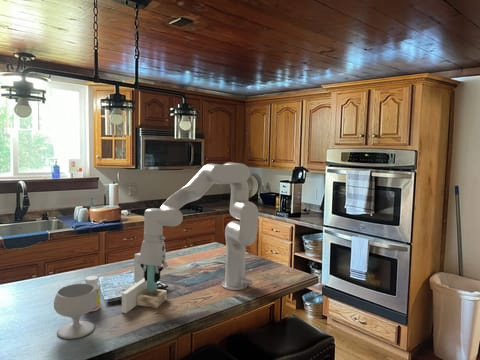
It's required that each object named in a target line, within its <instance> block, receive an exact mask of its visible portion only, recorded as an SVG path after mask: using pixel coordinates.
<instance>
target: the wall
mask: <svg viewBox="0 0 480 360" xmlns="http://www.w3.org/2000/svg"><path fill="white" fill-rule="evenodd" d="M145 289H147V281H145V278H143V279H142V280H140V281H139V282H137V283H136V284H133V285H132V286H130V287H129V288H127V289H125V290H124V291H123V292H121V313H123V314H127V313H128V312H130V311H131V310H133V308H135V307H136V306H138V305H137V295H139V294H140V293H141V292H143V291H144V290H145Z"/></svg>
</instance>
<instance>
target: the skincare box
mask: <svg viewBox="0 0 480 360" xmlns="http://www.w3.org/2000/svg"><path fill="white" fill-rule="evenodd" d="M139 258H140V252H138V253H134V269H133V270H134V272H133V274H134V275H133V276H134V277H133V281H134V282H139V281H140V280H142V279H143V278H144V271H143V269H142V267H141V266H140V265H139V264H138V263H137V261H138V260H139ZM134 282H133V283H134Z"/></svg>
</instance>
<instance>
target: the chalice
mask: <svg viewBox="0 0 480 360" xmlns="http://www.w3.org/2000/svg"><path fill="white" fill-rule="evenodd" d="M97 300H98V298H97V293H96V290H95V289H94V287H93V286H92V285H89V284H85V283H75V284H73V283H72V284H68V285H66V286H63V287H61V288H60V289H58V291H57V293H56V295H55V296H54V300H53V309H54V311H55V312H56V313H57V314H58V315H59V316H62V317H67V318H70V319H72V322H69V323H66V324H64V325H61V326H60V327H59V329H58V330H56V331H57V332H56V335H57V336H58V337H60V338H62V339H64V340H65V339H67V340H68V339H69V340H73V339H74V340H75V339H79V338H82V337H85V336H88V335H89V334H91V333H93V331H94V330H95V328H96V327H95V326H96V325H95V324H94V323H92V322H91V321H87V320H80V319H81V317H83V316H84V315H86V314H88V313H90V311H91V310H93V308H94V307H95V306H96V304H97Z"/></svg>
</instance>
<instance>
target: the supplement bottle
mask: <svg viewBox="0 0 480 360" xmlns="http://www.w3.org/2000/svg"><path fill="white" fill-rule="evenodd" d="M84 281H85V283H84V284H89V285H92V286H93V287H94V289H95V290H96V293H97V298H98V300H97V304H96V306H95V307H94V308H93V310H91V311H90V312H96V311H98V310H99V309H100V308H101V283H100V282H99V277H98V276H97V275H90V276H89V275H88V276H87V277H85V279H84ZM90 312H89V313H90Z"/></svg>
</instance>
